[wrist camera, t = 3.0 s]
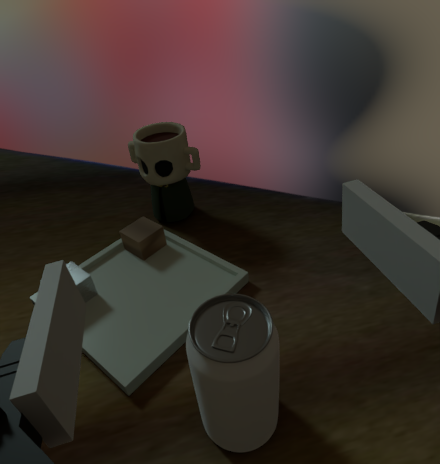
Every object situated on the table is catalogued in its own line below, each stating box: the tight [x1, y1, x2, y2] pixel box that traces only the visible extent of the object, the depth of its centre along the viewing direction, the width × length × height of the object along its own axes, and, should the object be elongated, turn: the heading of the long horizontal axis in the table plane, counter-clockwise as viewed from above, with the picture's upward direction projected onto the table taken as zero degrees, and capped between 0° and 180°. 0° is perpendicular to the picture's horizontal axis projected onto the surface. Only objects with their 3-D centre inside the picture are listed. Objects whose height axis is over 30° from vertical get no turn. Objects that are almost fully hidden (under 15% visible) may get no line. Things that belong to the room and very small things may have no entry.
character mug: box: [128, 122, 200, 222], centre depth 53 cm, size 11×7×13 cm, turn 67°
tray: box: [29, 230, 249, 396], centre depth 44 cm, size 18×18×2 cm
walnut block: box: [119, 217, 167, 261], centre depth 49 cm, size 4×4×3 cm
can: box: [186, 294, 279, 452], centre depth 28 cm, size 6×6×12 cm
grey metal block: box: [40, 262, 98, 303], centre depth 43 cm, size 4×4×3 cm
